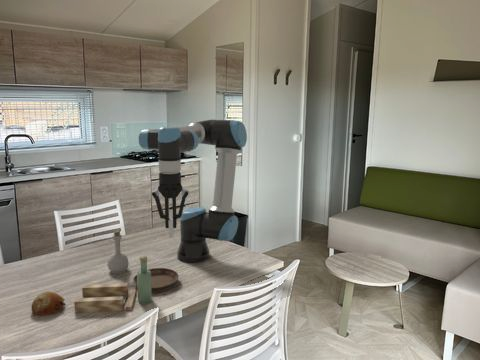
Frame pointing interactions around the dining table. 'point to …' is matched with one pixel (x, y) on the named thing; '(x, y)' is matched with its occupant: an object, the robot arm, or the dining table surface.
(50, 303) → the bread roll
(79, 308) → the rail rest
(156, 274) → the plant saucer
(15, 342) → the dining table surface
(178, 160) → the robot arm
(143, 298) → the bottle
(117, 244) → the potion bottle
